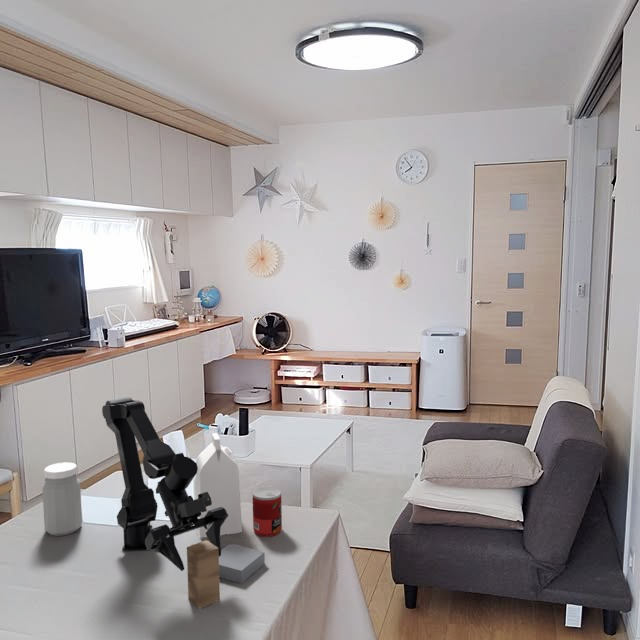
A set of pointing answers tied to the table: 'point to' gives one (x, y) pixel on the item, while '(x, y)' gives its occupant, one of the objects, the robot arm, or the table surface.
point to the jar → (62, 499)
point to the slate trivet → (239, 562)
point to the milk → (219, 484)
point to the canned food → (267, 512)
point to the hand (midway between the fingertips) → (201, 562)
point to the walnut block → (203, 573)
